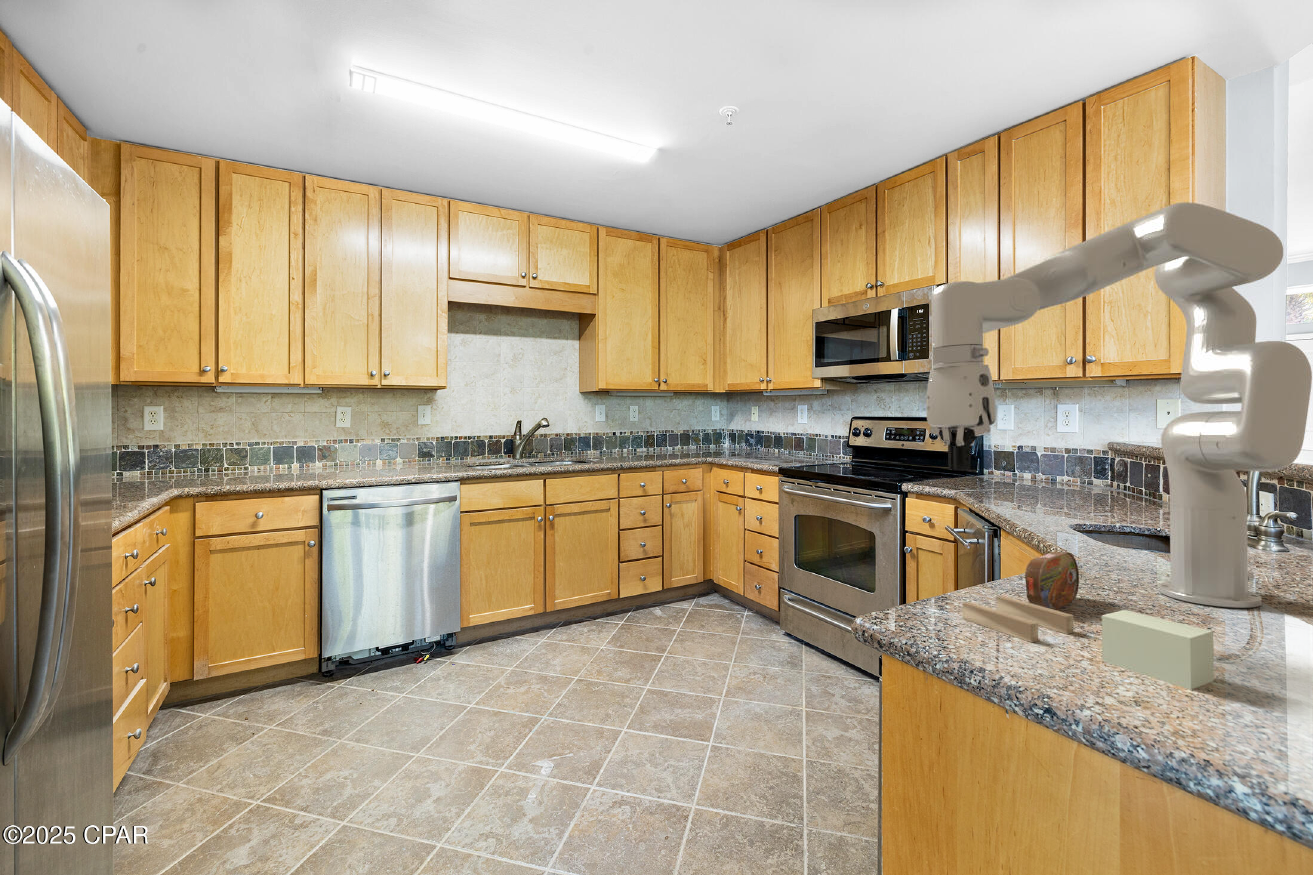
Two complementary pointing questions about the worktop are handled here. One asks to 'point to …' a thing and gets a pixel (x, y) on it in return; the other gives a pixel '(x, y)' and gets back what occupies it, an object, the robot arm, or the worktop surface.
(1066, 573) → the tin
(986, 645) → the worktop surface
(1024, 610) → the chute
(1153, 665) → the block
